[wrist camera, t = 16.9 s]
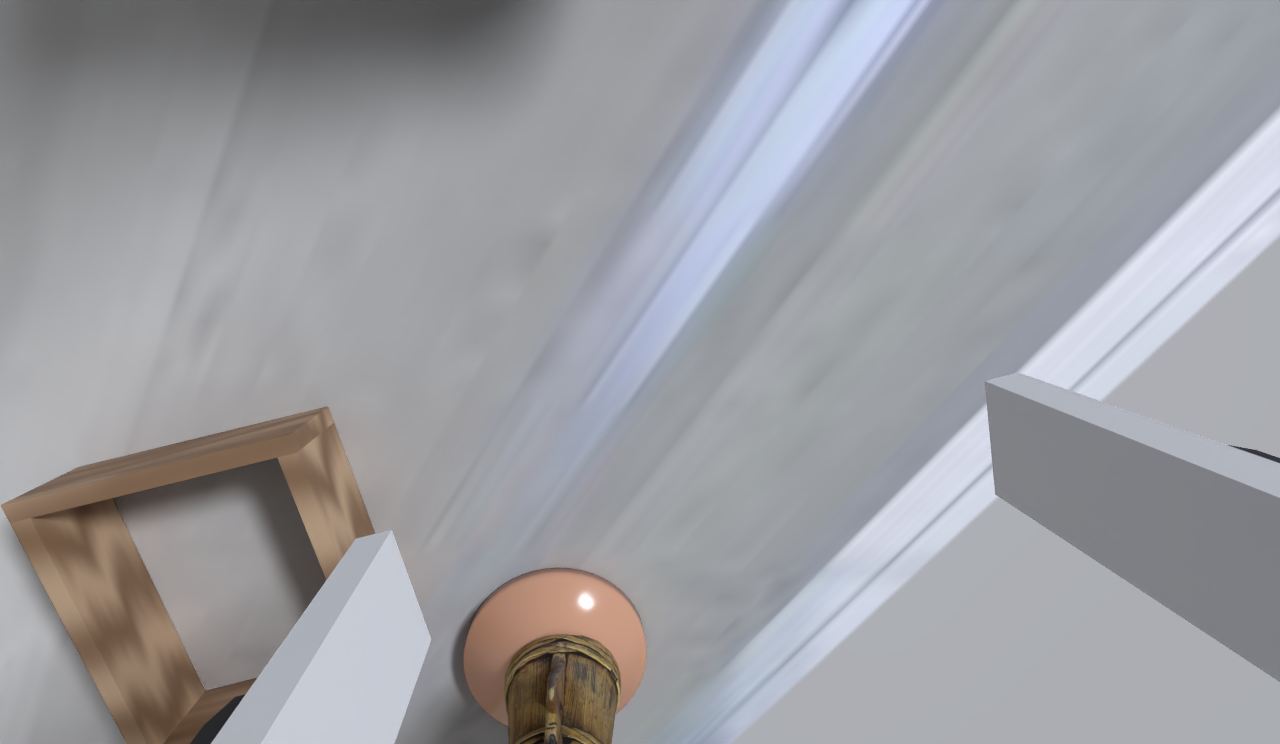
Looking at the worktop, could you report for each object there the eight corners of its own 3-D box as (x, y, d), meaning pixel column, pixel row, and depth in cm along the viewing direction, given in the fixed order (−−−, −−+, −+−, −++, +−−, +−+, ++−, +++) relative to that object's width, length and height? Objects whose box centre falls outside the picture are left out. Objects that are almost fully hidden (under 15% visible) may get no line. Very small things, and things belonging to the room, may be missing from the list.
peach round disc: (443, 593, 48) (439, 605, 47) (622, 548, 49) (623, 558, 47) (495, 740, 52) (492, 755, 50) (661, 696, 52) (663, 710, 51)
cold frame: (78, 467, 43) (-106, 557, 32) (328, 406, 44) (237, 473, 32) (195, 707, 48) (74, 861, 37) (418, 650, 49) (368, 784, 37)
